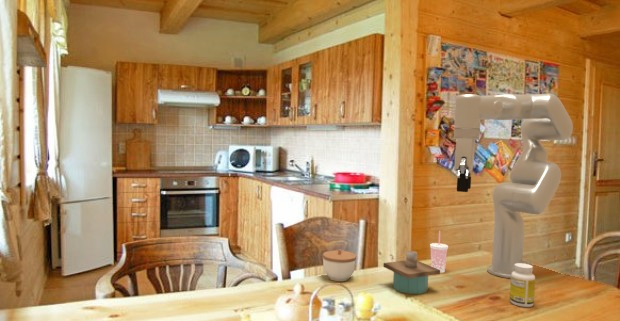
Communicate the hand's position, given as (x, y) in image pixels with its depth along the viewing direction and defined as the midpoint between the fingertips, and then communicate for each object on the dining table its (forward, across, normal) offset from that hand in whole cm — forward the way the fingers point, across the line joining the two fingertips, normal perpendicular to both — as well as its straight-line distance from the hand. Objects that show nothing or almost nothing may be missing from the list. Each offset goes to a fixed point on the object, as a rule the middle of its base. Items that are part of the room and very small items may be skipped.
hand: (463, 190), depth 138 cm
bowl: (+30, +10, -13) cm, 34 cm away
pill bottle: (+31, +7, +18) cm, 36 cm away
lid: (+25, +10, -13) cm, 30 cm away
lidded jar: (+31, +12, -36) cm, 49 cm away
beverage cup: (+31, -14, -8) cm, 34 cm away
